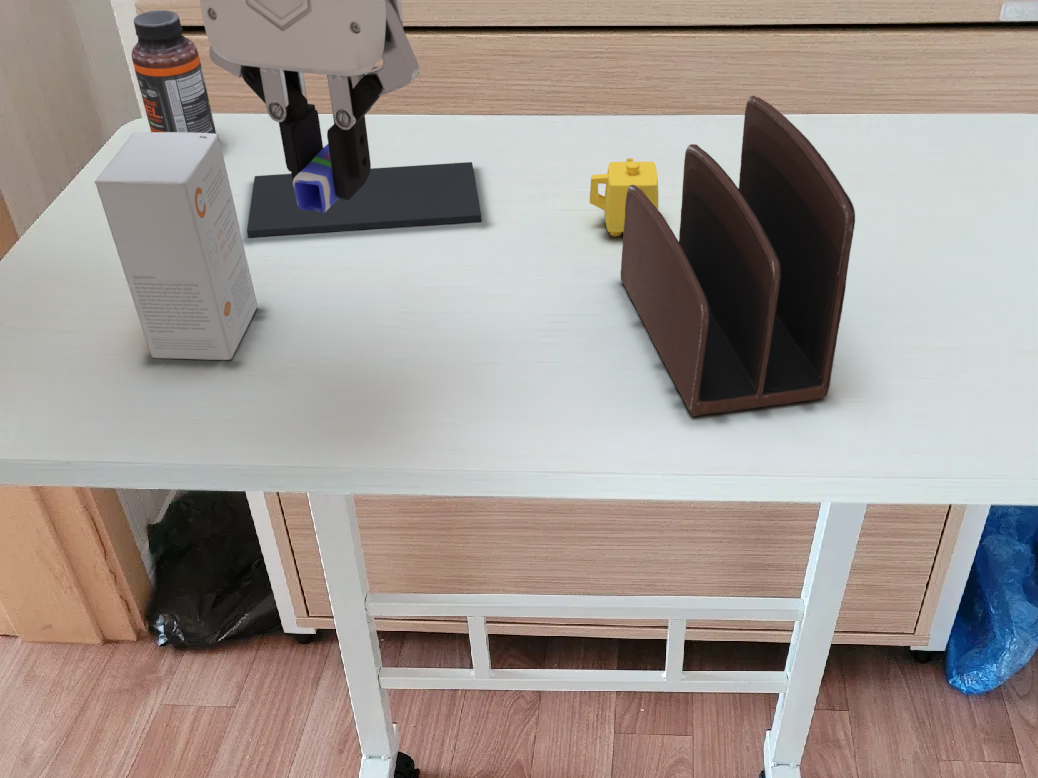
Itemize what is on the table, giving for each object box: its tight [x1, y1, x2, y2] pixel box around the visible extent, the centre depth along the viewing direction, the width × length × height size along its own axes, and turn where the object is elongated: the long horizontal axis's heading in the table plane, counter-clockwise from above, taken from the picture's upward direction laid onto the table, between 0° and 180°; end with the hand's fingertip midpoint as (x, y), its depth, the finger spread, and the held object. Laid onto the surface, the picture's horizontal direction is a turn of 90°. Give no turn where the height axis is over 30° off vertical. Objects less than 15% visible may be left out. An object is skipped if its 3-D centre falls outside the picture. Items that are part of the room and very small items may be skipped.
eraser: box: [293, 143, 339, 213], centre depth 66 cm, size 2×6×2 cm, turn 161°
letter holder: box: [620, 95, 856, 417], centre depth 77 cm, size 10×20×14 cm, turn 12°
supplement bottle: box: [131, 9, 217, 134], centre depth 103 cm, size 6×6×11 cm
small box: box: [94, 131, 259, 361], centre depth 80 cm, size 8×6×13 cm
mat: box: [246, 161, 482, 238], centre depth 99 cm, size 20×11×1 cm, turn 96°
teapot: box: [589, 157, 659, 237], centre depth 93 cm, size 8×6×5 cm
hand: (331, 185), depth 67 cm, fingers closed on eraser, 2 cm apart
